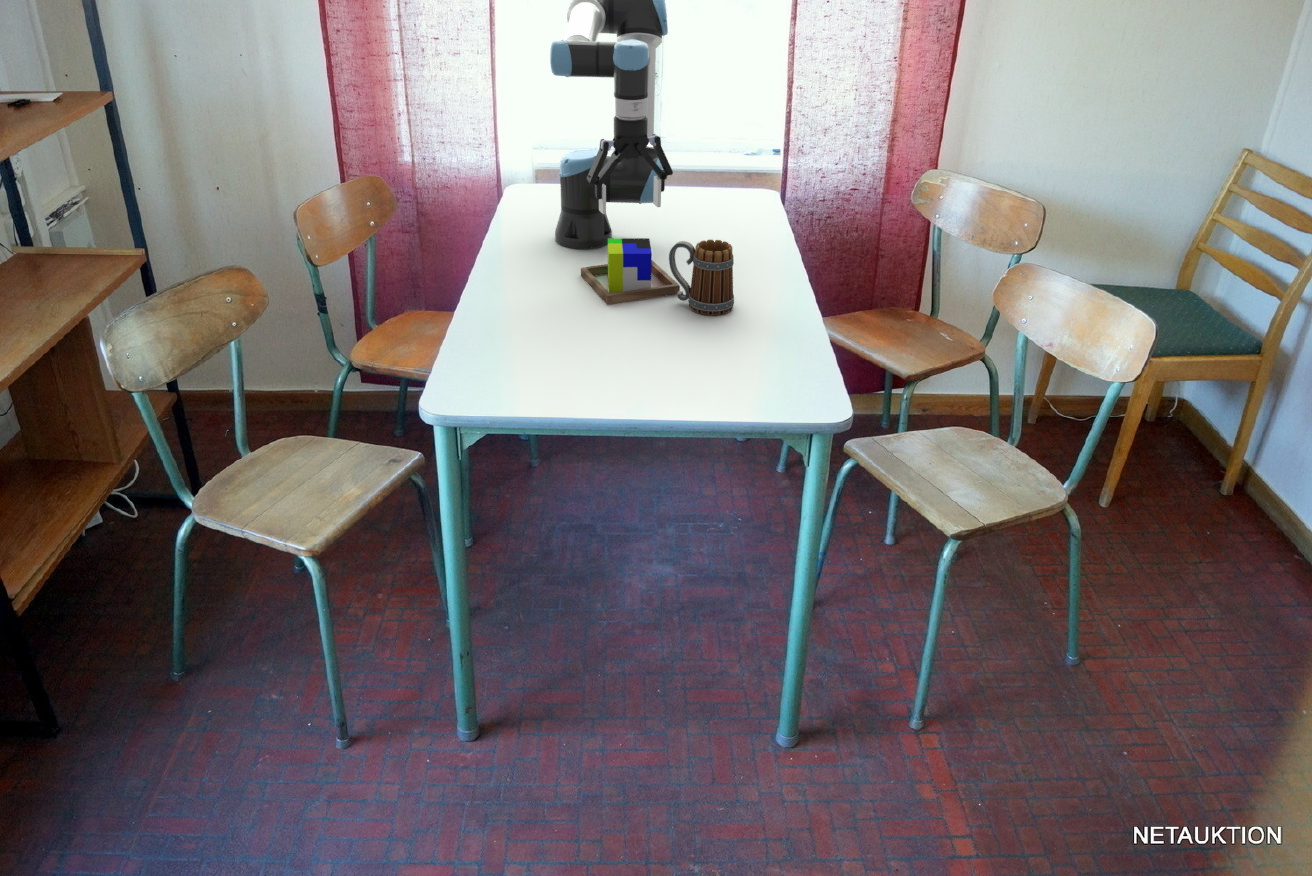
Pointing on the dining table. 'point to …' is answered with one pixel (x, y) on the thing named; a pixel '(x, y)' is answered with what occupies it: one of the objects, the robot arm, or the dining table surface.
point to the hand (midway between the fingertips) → (629, 208)
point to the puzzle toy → (629, 264)
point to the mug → (707, 277)
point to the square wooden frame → (626, 296)
